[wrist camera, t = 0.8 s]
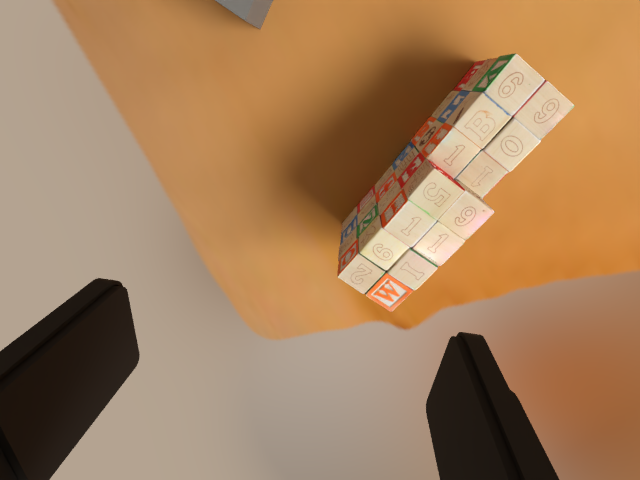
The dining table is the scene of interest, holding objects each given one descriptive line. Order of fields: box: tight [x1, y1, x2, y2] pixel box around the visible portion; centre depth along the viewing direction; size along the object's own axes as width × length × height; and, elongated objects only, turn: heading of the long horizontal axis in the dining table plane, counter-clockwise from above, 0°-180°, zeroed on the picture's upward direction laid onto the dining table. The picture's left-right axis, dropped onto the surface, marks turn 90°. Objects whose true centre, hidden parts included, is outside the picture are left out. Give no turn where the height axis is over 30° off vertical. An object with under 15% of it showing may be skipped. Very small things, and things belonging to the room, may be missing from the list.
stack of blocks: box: [338, 54, 575, 311], centre depth 31 cm, size 21×6×12 cm, turn 145°
